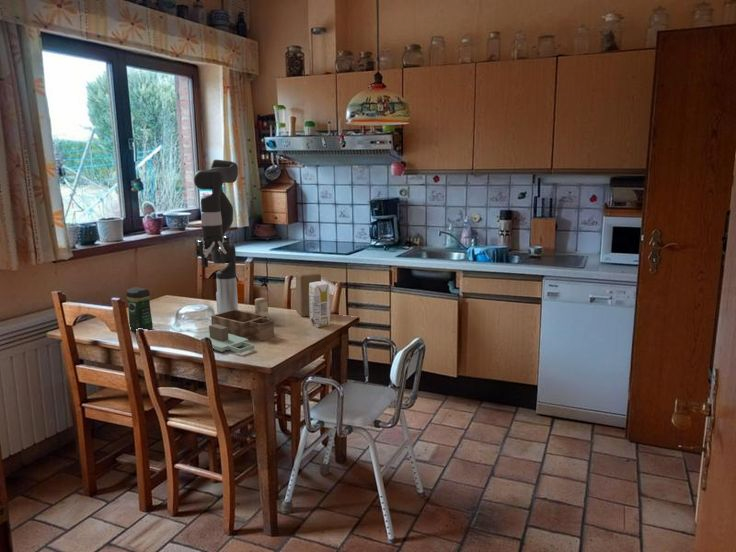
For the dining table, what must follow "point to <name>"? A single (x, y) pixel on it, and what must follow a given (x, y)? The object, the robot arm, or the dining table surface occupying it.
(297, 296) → the wooden block
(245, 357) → the dining table surface
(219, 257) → the robot arm
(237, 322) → the wooden tray
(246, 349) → the lid
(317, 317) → the juice carton
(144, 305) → the coffee jar
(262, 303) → the beige rectangular block
